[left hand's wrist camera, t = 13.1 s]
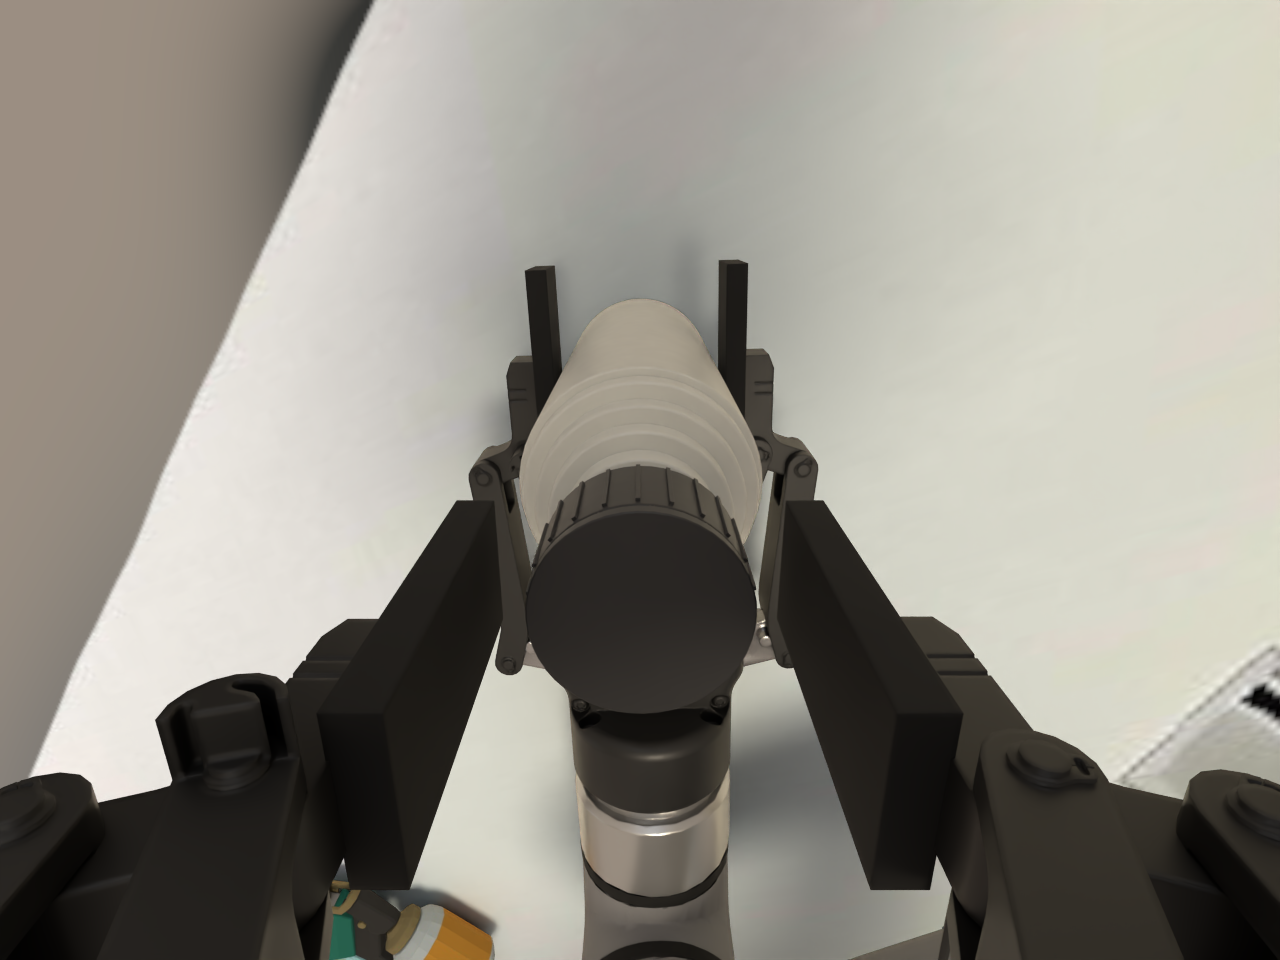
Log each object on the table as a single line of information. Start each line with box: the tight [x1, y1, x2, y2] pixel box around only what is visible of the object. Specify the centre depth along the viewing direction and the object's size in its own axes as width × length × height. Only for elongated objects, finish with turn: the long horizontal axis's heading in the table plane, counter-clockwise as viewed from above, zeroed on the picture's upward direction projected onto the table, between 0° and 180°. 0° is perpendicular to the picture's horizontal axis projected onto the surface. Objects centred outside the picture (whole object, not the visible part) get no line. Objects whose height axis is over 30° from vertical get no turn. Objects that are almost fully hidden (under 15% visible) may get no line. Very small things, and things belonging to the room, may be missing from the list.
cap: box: [525, 464, 757, 714], centre depth 14 cm, size 4×4×2 cm
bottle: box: [519, 299, 762, 545], centre depth 24 cm, size 6×6×23 cm
